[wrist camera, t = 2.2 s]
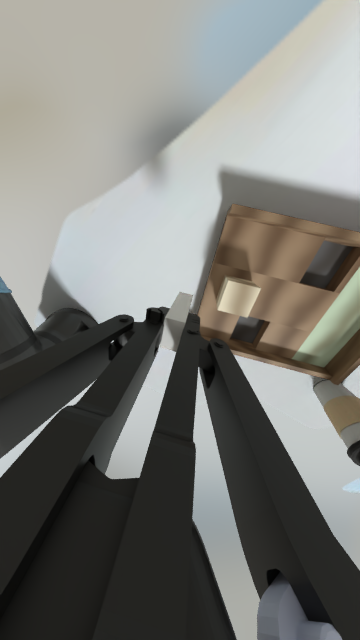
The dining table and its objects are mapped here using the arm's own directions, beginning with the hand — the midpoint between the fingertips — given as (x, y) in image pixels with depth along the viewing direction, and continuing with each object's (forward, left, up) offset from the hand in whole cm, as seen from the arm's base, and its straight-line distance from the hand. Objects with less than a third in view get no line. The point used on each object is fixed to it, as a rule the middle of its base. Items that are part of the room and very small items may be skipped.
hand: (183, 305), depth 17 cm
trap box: (+18, 0, -15) cm, 24 cm away
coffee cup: (+39, -18, -16) cm, 46 cm away
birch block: (+8, 0, -13) cm, 15 cm away
